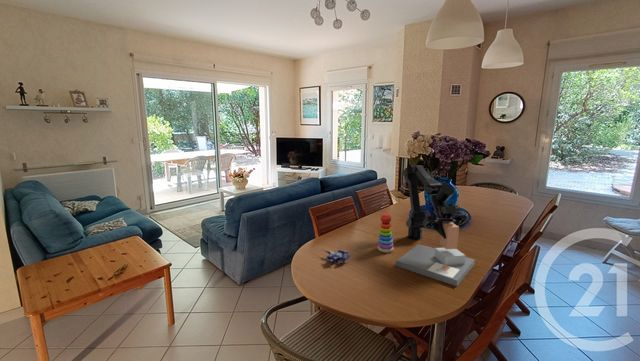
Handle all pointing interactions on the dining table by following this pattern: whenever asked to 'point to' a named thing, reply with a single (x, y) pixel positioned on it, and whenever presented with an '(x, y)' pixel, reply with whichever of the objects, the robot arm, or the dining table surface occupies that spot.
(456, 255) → the base block
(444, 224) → the pillar block
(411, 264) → the board
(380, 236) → the stacking toy
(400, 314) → the dining table surface
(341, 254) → the toy airplane
